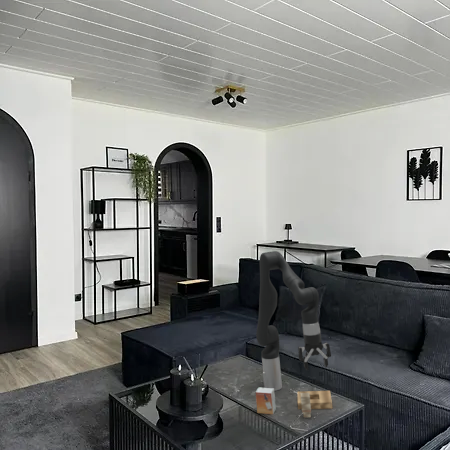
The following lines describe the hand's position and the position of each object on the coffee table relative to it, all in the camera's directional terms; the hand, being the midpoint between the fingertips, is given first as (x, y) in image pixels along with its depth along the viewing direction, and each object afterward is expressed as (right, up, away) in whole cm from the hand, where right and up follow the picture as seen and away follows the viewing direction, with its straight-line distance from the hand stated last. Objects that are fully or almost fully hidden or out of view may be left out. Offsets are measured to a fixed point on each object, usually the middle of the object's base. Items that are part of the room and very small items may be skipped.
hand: (316, 368), depth 193 cm
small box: (-21, -25, +14) cm, 36 cm away
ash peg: (-3, -24, +6) cm, 25 cm away
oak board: (+3, -22, +17) cm, 28 cm away
